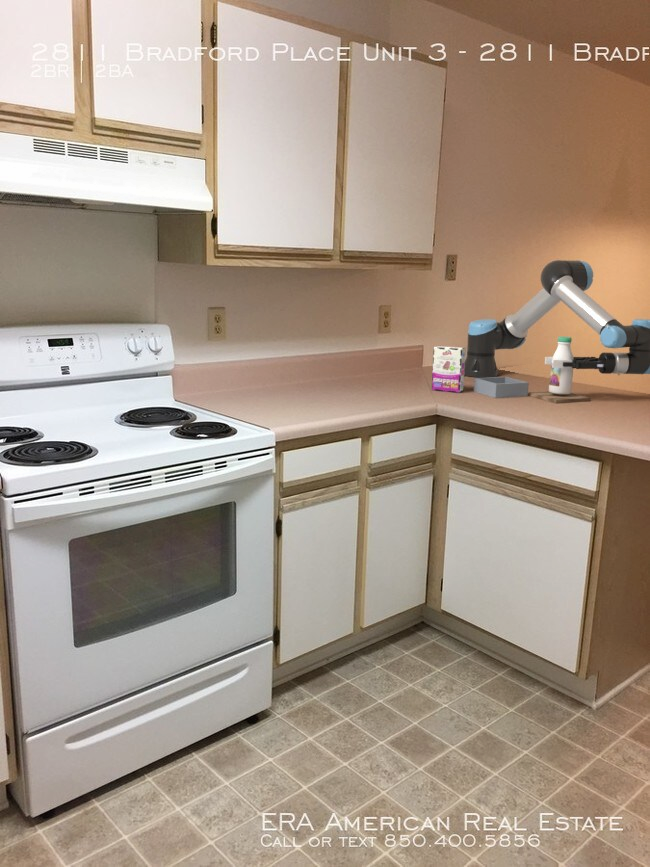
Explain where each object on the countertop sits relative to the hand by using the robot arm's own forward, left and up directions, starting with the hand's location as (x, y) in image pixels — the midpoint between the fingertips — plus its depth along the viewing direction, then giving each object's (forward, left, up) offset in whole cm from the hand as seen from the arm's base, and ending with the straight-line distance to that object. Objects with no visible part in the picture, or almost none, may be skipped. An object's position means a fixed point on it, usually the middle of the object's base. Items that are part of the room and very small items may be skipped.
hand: (549, 362), depth 259 cm
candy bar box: (-23, -27, -13) cm, 38 cm away
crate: (-12, -11, -13) cm, 21 cm away
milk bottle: (+2, +5, -11) cm, 12 cm away
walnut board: (+2, +5, -13) cm, 14 cm away
